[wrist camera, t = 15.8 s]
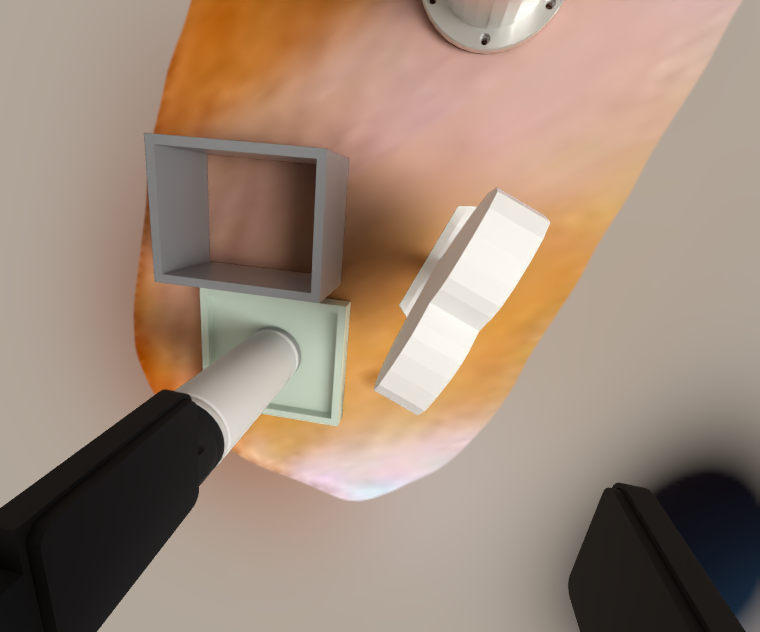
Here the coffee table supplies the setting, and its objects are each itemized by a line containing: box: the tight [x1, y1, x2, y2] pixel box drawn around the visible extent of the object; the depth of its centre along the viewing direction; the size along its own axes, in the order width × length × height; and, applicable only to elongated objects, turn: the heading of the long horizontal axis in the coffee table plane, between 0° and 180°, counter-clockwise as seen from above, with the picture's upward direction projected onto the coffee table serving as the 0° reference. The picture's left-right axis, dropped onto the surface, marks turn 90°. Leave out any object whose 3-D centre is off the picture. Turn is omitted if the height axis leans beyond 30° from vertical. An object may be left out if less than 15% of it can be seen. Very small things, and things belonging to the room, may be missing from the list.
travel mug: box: [175, 327, 301, 486], centre depth 35 cm, size 6×7×20 cm
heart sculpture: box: [374, 187, 550, 415], centre depth 32 cm, size 16×5×18 cm, turn 151°
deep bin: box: [144, 133, 349, 303], centre depth 38 cm, size 13×16×8 cm
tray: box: [200, 288, 351, 426], centre depth 45 cm, size 14×16×2 cm
